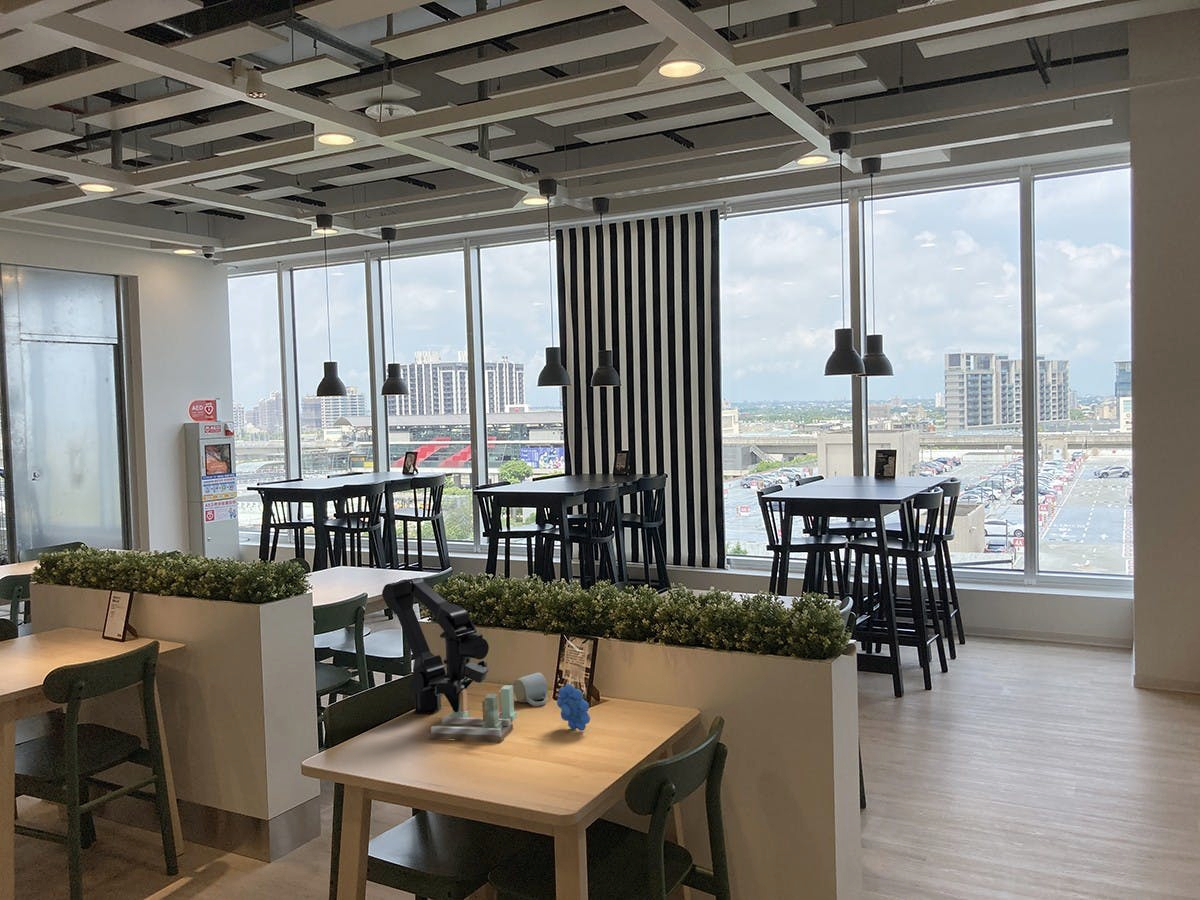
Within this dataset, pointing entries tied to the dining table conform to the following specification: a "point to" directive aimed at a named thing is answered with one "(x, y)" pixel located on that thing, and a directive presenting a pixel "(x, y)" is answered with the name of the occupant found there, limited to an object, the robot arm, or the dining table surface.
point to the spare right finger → (506, 703)
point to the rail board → (475, 725)
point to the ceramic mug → (531, 689)
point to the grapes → (573, 707)
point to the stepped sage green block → (461, 705)
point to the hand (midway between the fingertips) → (458, 709)
